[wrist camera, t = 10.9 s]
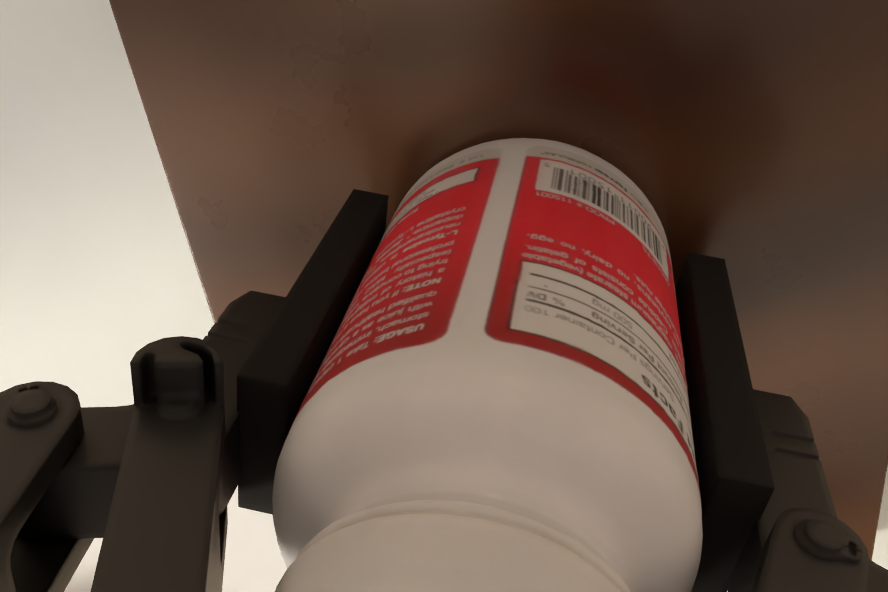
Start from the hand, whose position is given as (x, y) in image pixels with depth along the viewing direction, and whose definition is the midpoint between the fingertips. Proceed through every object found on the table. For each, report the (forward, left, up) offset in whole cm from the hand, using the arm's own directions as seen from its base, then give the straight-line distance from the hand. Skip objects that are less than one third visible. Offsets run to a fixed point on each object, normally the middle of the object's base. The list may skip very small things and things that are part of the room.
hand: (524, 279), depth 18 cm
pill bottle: (0, 0, -1) cm, 1 cm away
